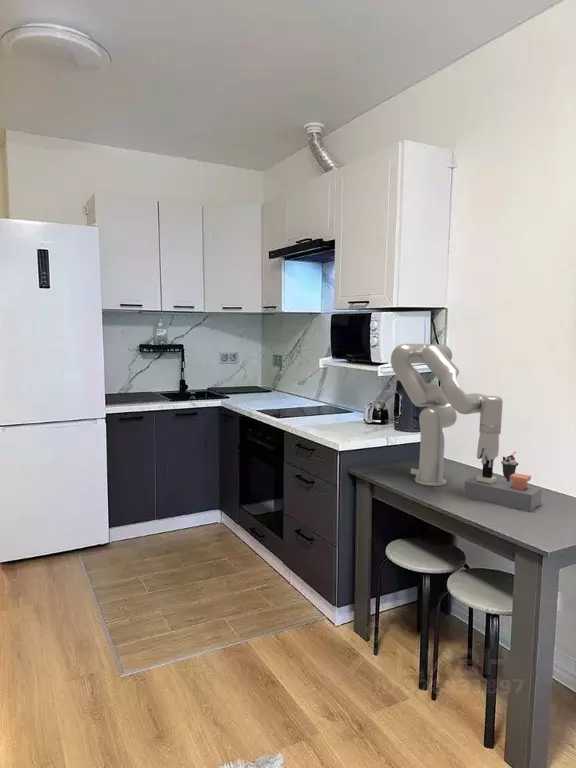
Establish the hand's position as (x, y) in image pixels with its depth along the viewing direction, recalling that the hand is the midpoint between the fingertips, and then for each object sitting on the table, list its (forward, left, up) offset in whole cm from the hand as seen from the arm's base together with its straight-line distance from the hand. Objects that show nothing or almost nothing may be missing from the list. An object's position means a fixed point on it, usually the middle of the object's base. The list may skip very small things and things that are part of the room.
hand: (487, 476), depth 202 cm
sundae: (+2, +19, -8) cm, 21 cm away
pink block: (+12, 0, -5) cm, 13 cm away
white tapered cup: (0, 0, -7) cm, 7 cm away
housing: (+6, 0, -8) cm, 10 cm away
